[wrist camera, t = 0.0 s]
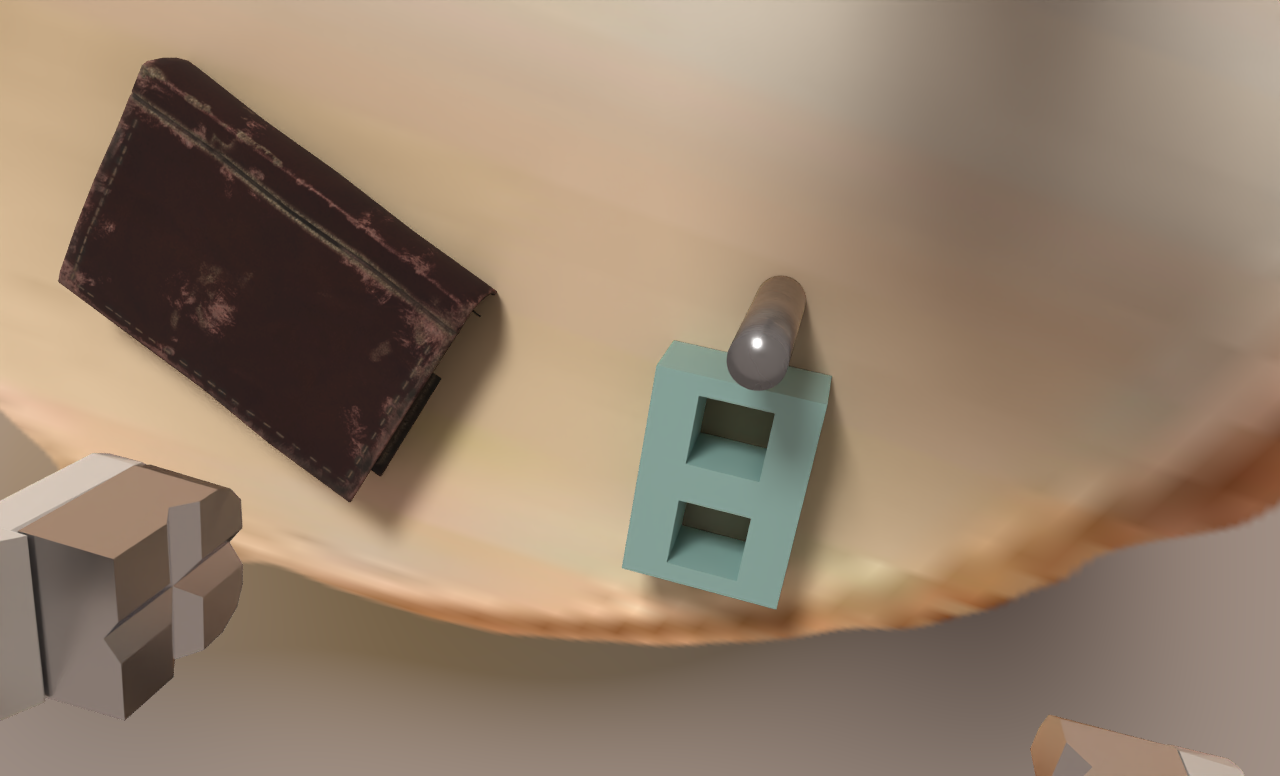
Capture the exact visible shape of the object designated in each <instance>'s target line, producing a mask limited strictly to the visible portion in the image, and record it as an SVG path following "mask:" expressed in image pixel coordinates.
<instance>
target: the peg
mask: <svg viewBox="0 0 1280 776" xmlns="http://www.w3.org/2000/svg"><path fill="white" fill-rule="evenodd" d="M805 306H806V295H805V292H804V289H803V288H802V286H801V285H800V284H799V283H798V282H797V281H796V280H794V279H793V278H790V277H787V276H775V277H772V278H769V279H768V280H766V281H765V282H764V283H763V284H762V285H761V286H760V288H759V289H758V291H757V293H756V295H755V297H754V300H753V302H752V304H751V306H750V308H749V310H748V312H747V314H746V316H745V318H744V320H743V322H742V324H741V326H740V328H739V330H738V332H737V334H736V336H735V338H734V340H733V342H732V344H731V346H730V348H729V350H728V353H727V368H728V371H729V373H730V375H731V377H732V378H733V379H734V380H735V381H736V382H737V383H738V384H739V385H740V386H742V387H744V388H746V389H749V390H754V391H763V390H768V389H770V388H773V387H774V386H776V385H777V384H778V383H780V382H781V380H782V379H783V378H784V376H785V374H786V372H787V369H788V365H789V362H790V358H791V355H792V351H793V348H794V344H795V341H796V337H797V334H798V330H799V327H800V323H801V320H802V316H803V313H804V309H805Z"/></svg>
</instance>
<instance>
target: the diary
mask: <svg viewBox="0 0 1280 776" xmlns="http://www.w3.org/2000/svg"><path fill="white" fill-rule="evenodd" d="M58 282H59V283H61V284H62V285H63V286H65V287H66V288H67V289H69V290H70V291H71V292H73V293H74V294H75V295H77V296H78V297H79V298H81V299H82V300H83V301H85V302H86V303H88V304H89V305H90V306H92V307H93V308H94V309H96V310H97V311H98V312H100V313H101V314H102V315H104V316H105V317H106V318H108V319H109V320H110V321H112V322H113V323H114V324H116V325H117V326H118V327H120V328H121V329H123V330H124V331H125V332H127V333H128V334H129V335H131V336H132V337H133V338H135V339H136V340H137V341H139V342H140V343H141V344H143V345H144V346H145V347H147V348H148V349H150V350H151V351H152V352H154V353H155V354H156V355H158V356H159V357H160V358H162V359H163V360H164V361H166V362H167V363H169V364H170V365H171V366H173V367H174V368H175V369H177V370H178V371H179V372H181V373H182V374H183V375H185V376H186V377H187V378H189V379H190V380H192V381H193V382H194V383H196V384H197V385H198V386H200V387H201V388H202V389H204V390H205V391H206V392H207V393H209V394H210V395H211V396H212V397H213V398H215V399H216V400H217V401H218V402H220V403H221V404H222V405H223V406H224V407H226V408H227V409H228V410H229V411H231V412H232V413H233V414H234V415H235V416H237V417H238V418H239V419H240V420H241V421H243V422H244V423H245V424H246V425H247V426H249V427H250V428H251V429H252V430H254V431H255V432H256V433H257V434H258V435H260V436H261V437H262V438H263V439H264V440H266V441H267V442H268V443H269V444H271V445H272V446H273V447H275V448H276V449H278V450H279V451H280V452H282V453H283V454H284V455H286V456H287V457H288V458H290V459H291V460H293V461H294V462H295V463H297V464H298V465H299V466H301V467H302V468H303V469H305V470H306V471H308V472H309V473H310V474H312V475H313V476H314V477H316V478H317V479H318V480H320V481H321V482H323V483H324V484H325V485H327V486H328V487H329V488H331V489H332V490H333V491H335V492H336V493H338V494H339V495H340V496H342V497H343V498H344V499H346V500H347V501H348V502H351V501H352V499H353V498H354V496H355V495H356V493H357V491H358V490H359V488H360V487H361V485H362V483H363V482H364V480H365V479H366V477H367V475H368V474H369V472H370V471H371V470H372V471H373V472H375V473H376V474H377V475H379V476H381V475H382V474H383V472H384V471H385V469H386V468H387V466H388V464H389V463H390V461H391V459H392V458H393V456H394V455H395V453H396V451H397V450H398V448H399V446H400V445H401V443H402V442H403V440H404V438H405V437H406V435H407V433H408V432H409V430H410V429H411V427H412V425H413V424H414V422H415V421H416V419H417V417H418V416H419V414H420V412H421V411H422V409H423V408H424V406H425V404H426V403H427V401H428V399H429V398H430V396H431V395H432V393H433V391H434V390H435V388H436V386H437V385H438V383H439V382H440V380H441V378H440V377H438V376H437V375H435V374H434V373H433V371H434V370H435V368H436V367H437V365H438V363H439V362H440V360H441V359H442V357H443V356H444V354H445V353H446V351H447V350H448V348H449V346H450V345H451V343H452V342H453V340H454V339H455V337H456V336H457V334H458V333H459V331H460V329H461V328H462V326H463V325H464V323H465V321H466V320H467V318H468V317H469V315H470V313H471V312H474V313H475V314H476V315H478V316H479V317H481V315H479V314H478V313H477V312H475V311H474V310H473V309H474V308H475V307H476V306H477V305H478V304H479V303H480V302H481V301H482V300H483V299H484V298H485V297H486V296H487V295H489V294H492V295H495V294H496V293H497V291H496V290H494V289H493V288H492V287H490V286H489V285H488V284H486V283H485V282H483V281H482V280H481V279H479V278H478V277H477V276H475V275H474V274H472V273H471V272H470V271H468V270H467V269H465V268H464V267H463V266H461V265H460V264H458V263H457V262H456V261H454V260H453V259H451V258H450V257H449V256H447V255H446V254H445V253H443V252H442V251H440V250H439V249H438V248H436V247H435V246H433V245H432V244H431V243H429V242H428V241H426V240H425V239H424V238H422V237H421V236H420V235H418V234H417V233H415V232H414V231H413V230H411V229H410V228H409V227H407V226H406V225H405V224H404V223H402V222H401V221H400V220H398V219H397V218H396V217H395V216H393V215H392V214H391V213H389V212H388V211H387V210H385V209H384V208H383V207H382V206H380V205H379V204H378V203H376V202H375V201H374V200H373V199H371V198H370V197H369V196H367V195H366V194H365V193H364V192H362V191H361V190H360V189H358V188H357V187H356V186H355V185H353V184H352V183H351V182H349V181H348V180H347V179H346V178H344V177H343V176H342V175H340V174H339V173H338V172H336V171H335V170H334V169H332V168H331V167H329V166H328V165H327V164H325V163H324V162H322V161H321V160H320V159H318V158H317V157H315V156H314V155H313V154H311V153H310V152H308V151H307V150H305V149H304V148H303V147H301V146H300V145H298V144H297V143H296V142H294V141H293V140H291V139H290V138H289V137H287V136H286V135H284V134H283V133H282V132H280V131H279V130H277V129H276V128H275V127H273V126H272V125H270V124H269V123H268V122H266V121H265V120H264V119H262V118H261V117H260V116H258V115H257V114H256V113H255V112H253V111H252V110H251V109H250V108H248V107H247V106H246V105H244V104H243V103H242V102H241V101H239V100H238V99H237V98H236V97H234V96H233V95H232V94H230V93H229V92H228V91H227V90H225V89H224V88H223V87H222V86H220V85H219V84H218V83H216V82H215V81H214V80H213V79H211V78H210V77H209V76H208V75H206V74H205V73H204V72H202V71H201V70H200V69H199V68H197V67H196V66H195V65H193V64H192V63H191V62H189V61H187V60H183V59H179V58H160V59H155V60H150V61H147V62H146V63H144V64H143V65H142V67H141V69H140V72H139V74H138V77H137V79H136V82H135V84H134V87H133V89H132V94H131V95H130V97H129V99H128V102H127V104H126V107H125V110H124V112H123V115H122V117H121V120H120V122H119V125H118V127H117V129H116V132H115V134H114V136H113V138H112V141H111V143H110V145H109V147H108V150H107V152H106V154H105V156H104V159H103V161H102V163H101V165H100V168H99V170H98V172H97V174H96V177H95V179H94V182H93V184H92V187H91V189H90V192H89V194H88V197H87V199H86V202H85V204H84V207H83V209H82V212H81V214H80V217H79V219H78V222H77V224H76V227H75V230H74V233H73V236H72V239H71V241H70V244H69V247H68V250H67V253H66V256H65V259H64V262H63V265H62V267H61V270H60V274H59V280H58Z"/></svg>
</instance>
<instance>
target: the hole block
mask: <svg viewBox="0 0 1280 776" xmlns="http://www.w3.org/2000/svg"><path fill="white" fill-rule="evenodd" d="M727 353H728V352H723V351H719V350H715V349H710V348H706V347H701V346H697V345H692V344H688V343H684V342H679V341H675V340H674V341H673V342H672V344H671V345H670V347H669V348H668V350H667V351H666V353H665V354H664V355H663V357H662V358H661V360H660V361H659V363H658V364H657V366H656V372H655V378H654V384H653V390H652V395H651V401H650V407H649V413H648V419H647V425H646V430H645V436H644V442H643V448H642V454H641V460H640V465H639V471H638V477H637V483H636V489H635V495H634V500H633V506H632V512H631V518H630V524H629V530H628V535H627V541H626V547H625V553H624V559H623V565H622V568H624V569H627V570H631V571H635V572H638V573H642V574H646V575H650V576H653V577H657V578H661V579H664V580H668V581H672V582H676V583H679V584H683V585H687V586H690V587H694V588H698V589H702V590H705V591H709V592H713V593H716V594H720V595H724V596H728V597H731V598H735V599H739V600H743V601H746V602H750V603H754V604H757V605H761V606H765V607H769V608H772V609H777V605H778V601H779V597H780V593H781V589H782V585H783V581H784V577H785V573H786V569H787V565H788V561H789V557H790V553H791V549H792V545H793V541H794V537H795V533H796V529H797V525H798V521H799V517H800V513H801V509H802V505H803V501H804V497H805V493H806V489H807V485H808V481H809V477H810V473H811V469H812V465H813V461H814V457H815V453H816V449H817V445H818V441H819V437H820V433H821V429H822V425H823V421H824V417H825V413H826V409H827V404H828V398H829V391H830V384H831V377H832V376H830V375H825V374H821V373H817V372H812V371H808V370H803V369H799V368H794V367H790V366H788V369H787V372H786V374H785V376H784V378H783V379H782V380H781V382H780V383H778V384H777V385H776V386H774V387H773V388H770V389H768V390H763V391H754V390H749V389H746V388H744V387H742V386H740V385H739V384H738V383H737V382H736V381H735V380H734V379H733V378H732V377H731V375H730V373H729V371H728V368H727ZM707 398H711V399H715V400H720V401H724V402H728V403H732V404H737V405H741V406H745V407H749V408H754V409H758V410H762V411H766V412H771V413H775V415H774V420H773V424H772V429H771V433H770V437H769V442H768V446H767V448H763V447H759V446H755V445H751V444H746V443H742V442H738V441H734V440H730V439H726V438H722V437H717V436H713V435H709V434H705V433H701V432H700V431H701V426H702V421H703V416H704V411H705V406H706V401H707ZM687 502H688V503H691V504H695V505H699V506H703V507H707V508H711V509H715V510H719V511H723V512H727V513H731V514H735V515H739V516H743V517H747V518H751V521H750V525H749V530H748V534H747V538H746V542H745V541H741V540H738V539H734V538H730V537H726V536H722V535H718V534H714V533H711V532H707V531H703V530H699V529H695V528H691V527H687V526H683V525H682V523H683V518H684V513H685V508H686V503H687Z"/></svg>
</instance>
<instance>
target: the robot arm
mask: <svg viewBox="0 0 1280 776" xmlns="http://www.w3.org/2000/svg"><path fill="white" fill-rule="evenodd" d="M241 529H242V511H241V499H240V498H239V497H238V496H237V495H236V494H235V493H234V492H233V491H232V490H231V489H230V488H226V487H223V486H220V485H216V484H213V483H210V482H206V481H203V480H200V479H196V478H193V477H190V476H186V475H183V474H180V473H176V472H173V471H170V470H166V469H163V468H159V467H156V466H153V465H146V464H144V463H143V462H139V461H135V460H132V459H128V458H124V457H121V456H117V455H113V454H106V453H92V454H90V455H88V456H86V457H84V458H82V459H80V460H78V461H77V462H75V463H73V464H71V465H69V466H67V467H65V468H63V469H61V470H59V471H57V472H55V473H53V474H51V475H49V476H47V477H46V478H43V479H42V480H40V481H38V482H36V483H34V484H32V485H30V486H28V487H26V488H24V489H22V490H20V491H18V492H16V493H14V494H12V495H11V496H8V497H6V498H5V499H3V500H1V501H0V721H1V720H4V719H6V718H8V717H11V716H13V715H16V714H18V713H20V712H23V711H25V710H28V709H30V708H32V707H35V706H37V705H40V704H42V703H44V702H45V698H49V699H52V700H56V701H59V702H62V703H66V704H70V705H73V706H76V707H80V708H83V709H86V710H90V711H93V712H97V713H100V714H103V715H107V716H110V717H114V718H117V719H121V720H124V721H125V720H126V719H127V718H128V717H129V716H131V715H132V714H133V713H134V712H135V711H136V710H137V709H138V708H139V707H141V706H142V705H143V704H144V703H145V702H146V701H147V700H148V699H150V698H151V697H152V696H153V695H154V694H155V693H156V692H157V691H159V690H160V689H161V688H162V687H163V686H164V685H165V684H166V683H167V682H169V681H170V680H171V679H172V678H173V677H174V666H175V665H174V664H175V659H178V658H181V657H183V656H187V655H190V654H193V653H196V652H199V651H202V650H204V649H205V648H206V647H207V646H209V645H210V644H211V643H212V642H213V641H214V640H215V639H216V638H217V637H218V636H219V635H220V634H221V633H222V632H223V631H224V629H225V627H226V626H227V624H228V622H229V620H230V619H231V617H232V615H233V613H234V612H235V610H236V608H237V606H238V601H239V597H240V593H241V589H242V585H243V564H242V562H241V561H240V559H239V557H238V556H237V554H236V552H235V551H234V549H233V547H232V546H231V544H230V541H231V540H232V539H233V538H234V536H235V535H236V534H237V533H238V532H239V531H240V530H241ZM1030 750H1031V755H1032V760H1033V765H1034V770H1035V775H1036V776H1244V774H1243V772H1242V770H1241V769H1240V768H1239V767H1238V766H1237V765H1236V764H1234V763H1233V762H1232V761H1231V760H1230V759H1227V758H1223V757H1219V756H1215V755H1210V754H1207V753H1203V752H1198V751H1194V750H1190V749H1186V748H1182V747H1178V746H1174V745H1170V744H1168V745H1164V744H1161V743H1157V742H1153V741H1149V740H1145V739H1141V738H1137V737H1134V736H1130V735H1126V734H1122V733H1118V732H1114V731H1111V730H1106V729H1103V728H1099V727H1095V726H1091V725H1087V724H1083V723H1080V722H1076V721H1072V720H1068V719H1064V718H1061V717H1057V716H1053V715H1048V716H1047V718H1046V719H1045V720H1044V722H1043V723H1042V724H1041V726H1040V727H1039V729H1038V732H1037V734H1036V736H1035V739H1034V741H1033V744H1032V746H1031V748H1030Z"/></svg>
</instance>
